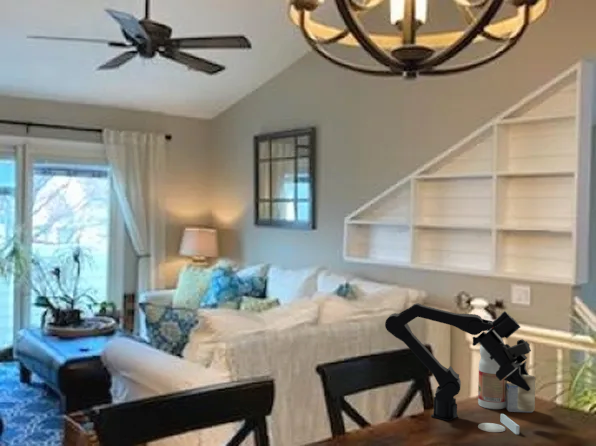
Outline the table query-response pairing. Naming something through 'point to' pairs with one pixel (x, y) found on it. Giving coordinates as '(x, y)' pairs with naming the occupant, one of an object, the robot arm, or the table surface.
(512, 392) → the medicine box
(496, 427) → the pad
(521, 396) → the birch cylinder
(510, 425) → the acrylic wall
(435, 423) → the table surface
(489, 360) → the fruit juice
